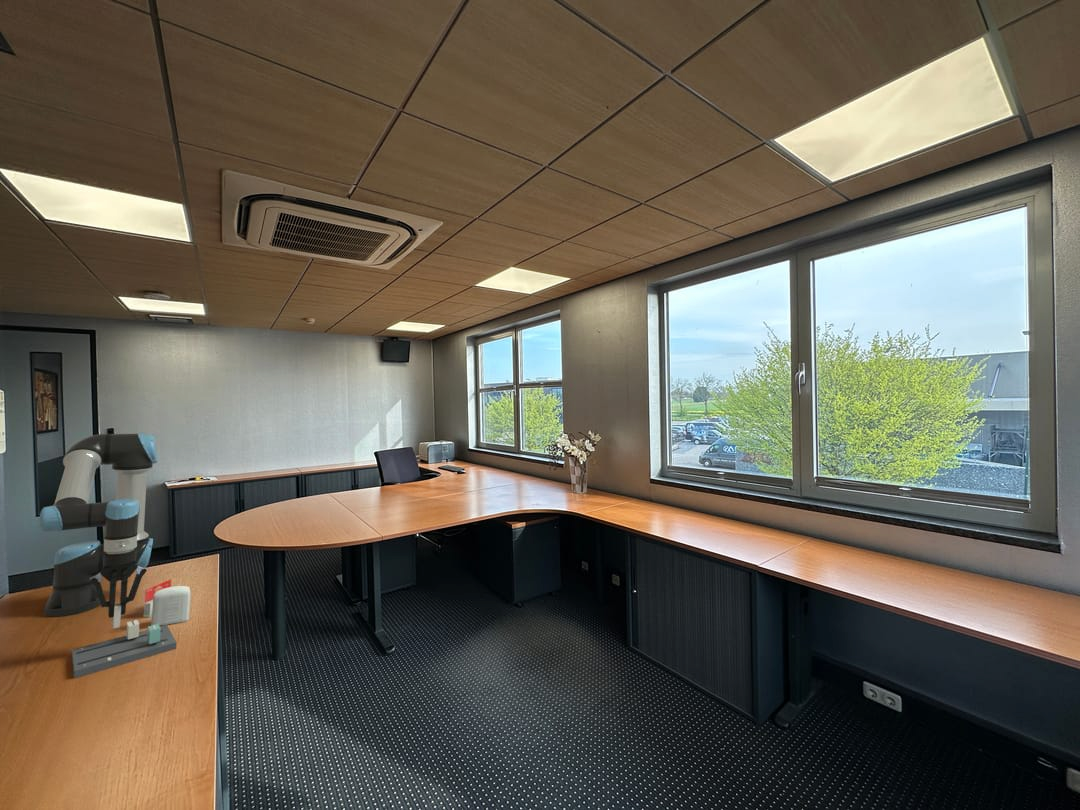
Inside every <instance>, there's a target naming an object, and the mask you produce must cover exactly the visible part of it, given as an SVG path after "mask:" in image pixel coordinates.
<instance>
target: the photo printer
mask: <svg viewBox="0 0 1080 810" xmlns="http://www.w3.org/2000/svg"><path fill="white" fill-rule="evenodd" d="M160 589H161V588H160ZM157 590H158V591H156V590H155V591H156V593H155V595H154V597H153V608H152V617H151V623H150V626H152V625H156V624H159V626H160V627H161V626H165V625H167V626H168V625H172V624H173V625H174V624H178V623H183V622H188V621H189V619H190V607H191V595H192V594H191V589H190V586H185V585H176V586H175V585H174V586H171V587H168V588H164V589H161V590H159V589H157Z"/></svg>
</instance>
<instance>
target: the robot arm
mask: <svg viewBox="0 0 1080 810" xmlns="http://www.w3.org/2000/svg"><path fill="white" fill-rule="evenodd" d="M156 444H157V443H156V438H155V436H154V435H153V434H148V433H98V434H94V435H93V434H92V435H90V436H88V437H87V436H86V437H85V438H82V439H81V440H80V441H77V442H76V443H75V444H73V445H72V446H71V447H69V449H68V450H67V451H66V453H65V454H64V457H63V459H62V464H63V466H64V470H63V474H62V476H61V481H60V484H59V487H58V490H57V492H56V498H55V499H54V503H53V505H50V506H44V507H43V508H42V509H41V511H40V514H39V523H38V525H39V526H38V527H39V530H41V532H54V531H55V532H61V531H68V530H69V531H70V530H77V529H85V528H96V527H98V528H99V527H104V540H103V541H104V542H103V543H102V542H101V541H100V540H87V541H82V542H77V543H73V544H70V545H66V546H64V547H62V548H59V549H58V550H57V551H56V552H55V554H54V555H55V556H54V559H53V560H54V561H53V578H52V590H51V591H52V592H51V593H50V595H49V598H48V599H47V601H46V603H45V605H44V606H43V607H44V609H43V615H44V616H46V617H64V616H65V617H66V616H71V615H76V614H79V613H84V612H88V611H90V610H93V609H96V608H97V607H101V608H108V612H107V613H108V614H107V615H108V618H109V619H110V618H112V628H113V629H117V628H120V627H121V616H122V615H125V614H126V612H127V611H126V609H127V604H128V603H130V602H132V601H134V600H135V598H136V596H137V592H138V590H139V586H140V583H141V581H142V578H143V576H144V575H145V574H146V573H147V572H148V571H147V566H148V565H149V562H150V558H151V554H152V547H153V543H154V539H153V538H151V537H149V533H148V532H146V531H145V517H146V516H145V515H146V496H147V482H148V481H147V480H148V478H147V477H148V472H149V471H150V470H152V469H153V464H157V463H158V453H157V445H156ZM101 465H102V466H103V465H107V466H108V465H109V466H110V465H111V470H112V471H114V472H115V473H116V488H115V489H116V490H115V491H116V492H115V493H116V494H115V499H114V500H111V501H108V502H107V501H105V502H95V503H94V502H92V503H89V502H90V497H91V492H92V489H93V483H94V479H95V475H96V469H98V468H99V466H101ZM101 543H102V544H101ZM134 573H135V577H134V580H133V583H132V585H131V588H130V590H129V594H127V593H128V581H129V579H130V577H131V576H132V575H133V574H134ZM102 577H103V578H104V579H105V580H107V581H108V582H109V590H108V591H109V593H108V601H107V600H106V597H105V593H104V590H103V587H102V584H101V581H102ZM119 581H120V597H119V599H120V600H119V601H120V602H119V603H116V593H117V592H116V591H117V590H116V589H117V582H119ZM127 595H128V596H127Z"/></svg>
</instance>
